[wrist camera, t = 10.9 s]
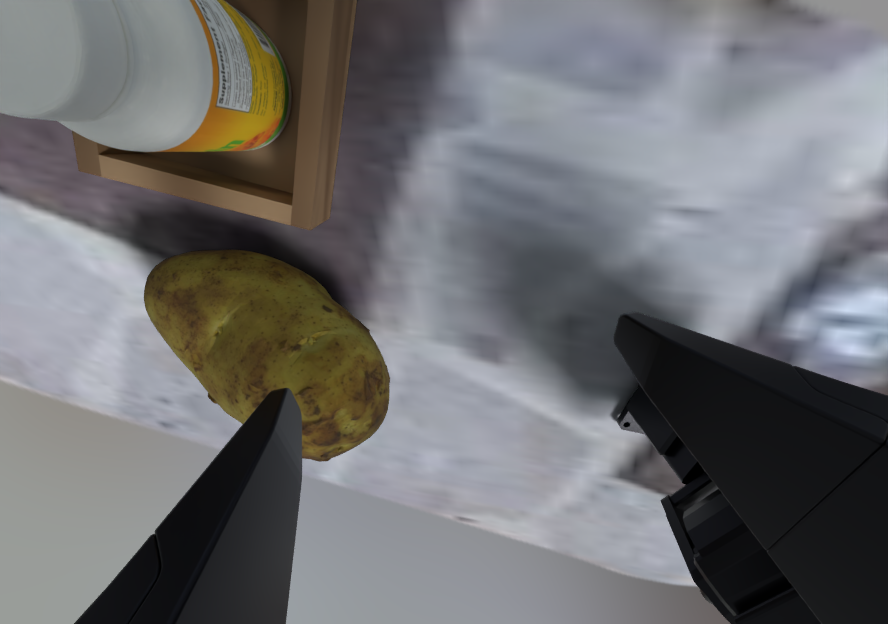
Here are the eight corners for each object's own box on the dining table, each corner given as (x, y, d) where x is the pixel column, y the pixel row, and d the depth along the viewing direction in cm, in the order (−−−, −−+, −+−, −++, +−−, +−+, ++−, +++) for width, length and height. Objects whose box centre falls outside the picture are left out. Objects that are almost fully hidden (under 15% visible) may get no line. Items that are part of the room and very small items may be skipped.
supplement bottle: (186, 145, 17) (-98, 141, 8) (157, 2, 14) (-291, -232, 6) (300, 156, 17) (149, 163, 8) (289, 17, 15) (61, -183, 6)
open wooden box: (358, -9, 15) (338, -45, 12) (329, 217, 19) (310, 230, 16) (109, -95, 14) (23, -157, 11) (136, 167, 18) (78, 171, 15)
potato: (265, 180, 18) (147, 202, 11) (420, 348, 22) (411, 443, 15) (169, 272, 20) (18, 342, 13) (329, 409, 25) (283, 518, 17)
